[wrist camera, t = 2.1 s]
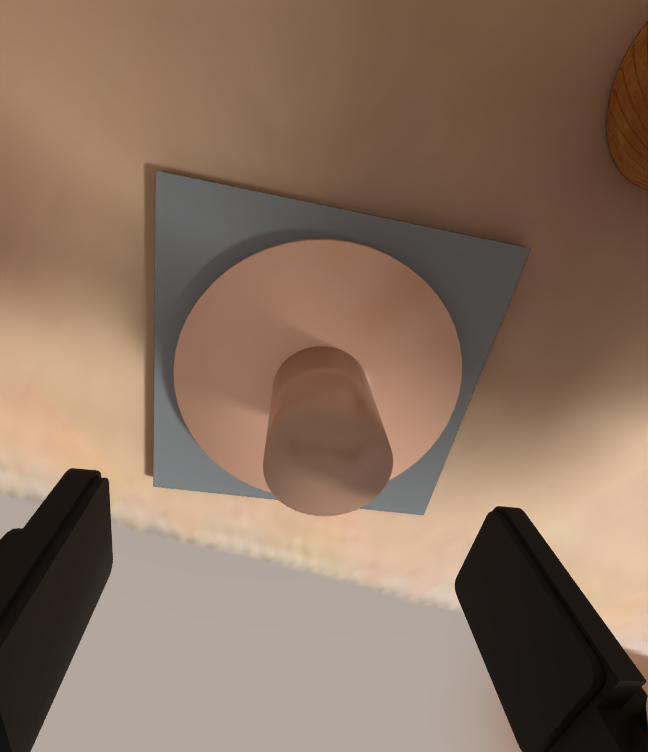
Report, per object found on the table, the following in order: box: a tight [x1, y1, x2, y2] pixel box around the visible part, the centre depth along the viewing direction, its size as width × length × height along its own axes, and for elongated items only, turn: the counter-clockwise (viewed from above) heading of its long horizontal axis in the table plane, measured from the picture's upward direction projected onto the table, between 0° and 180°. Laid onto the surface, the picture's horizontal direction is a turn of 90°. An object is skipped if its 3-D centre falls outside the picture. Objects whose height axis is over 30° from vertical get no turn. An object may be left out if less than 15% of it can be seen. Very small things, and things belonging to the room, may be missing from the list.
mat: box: [153, 171, 531, 515], centre depth 18 cm, size 14×14×1 cm
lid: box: [173, 238, 462, 516], centre depth 15 cm, size 12×12×6 cm
